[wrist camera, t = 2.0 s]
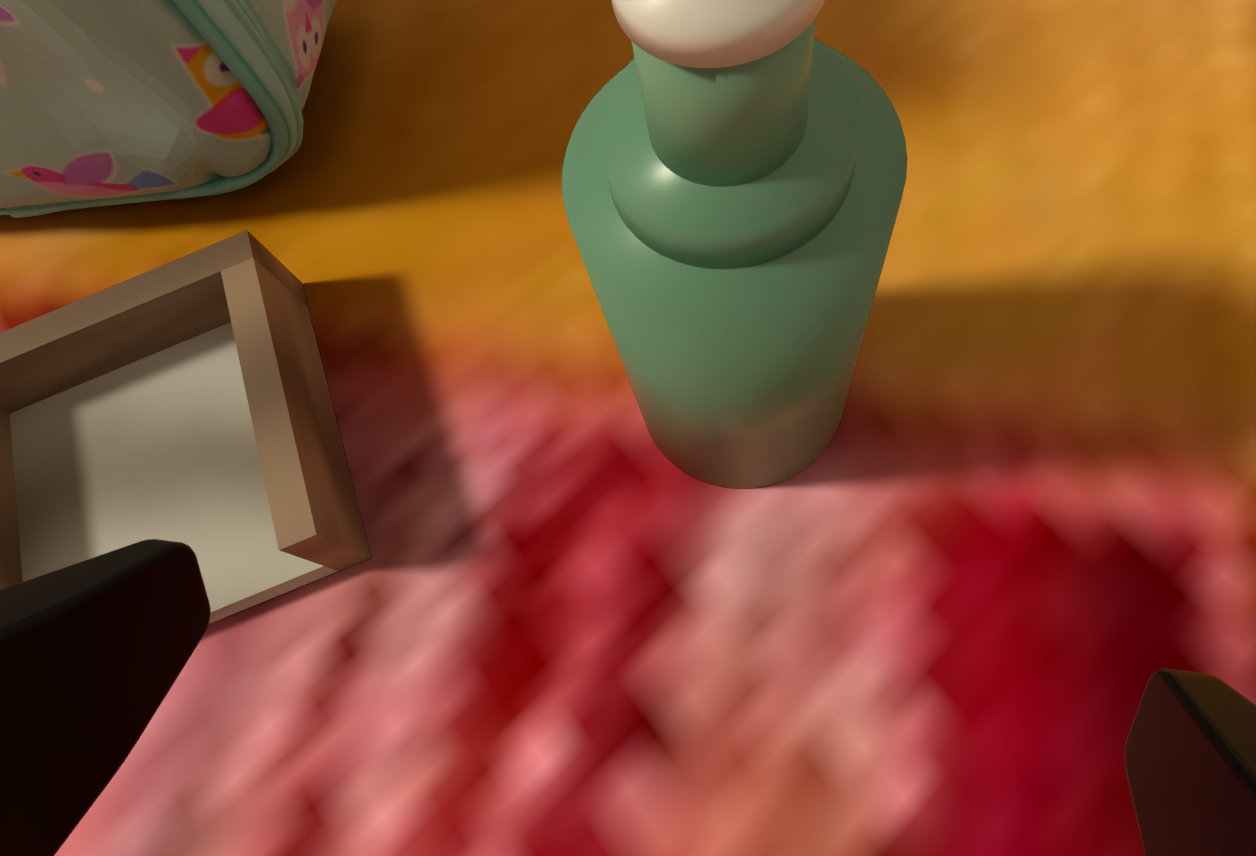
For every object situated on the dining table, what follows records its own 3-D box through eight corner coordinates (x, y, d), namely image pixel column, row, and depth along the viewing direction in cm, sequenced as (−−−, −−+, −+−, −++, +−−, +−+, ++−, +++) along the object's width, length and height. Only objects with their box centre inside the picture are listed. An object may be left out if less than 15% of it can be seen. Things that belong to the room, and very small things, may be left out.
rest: (371, 557, 23) (316, 534, 20) (22, 700, 23) (-82, 698, 20) (301, 282, 26) (247, 230, 23) (0, 407, 26) (-91, 370, 23)
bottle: (886, 377, 22) (1075, -123, 9) (755, 531, 21) (750, 226, 8) (728, 267, 24) (691, -279, 11) (601, 405, 23) (394, -8, 10)
